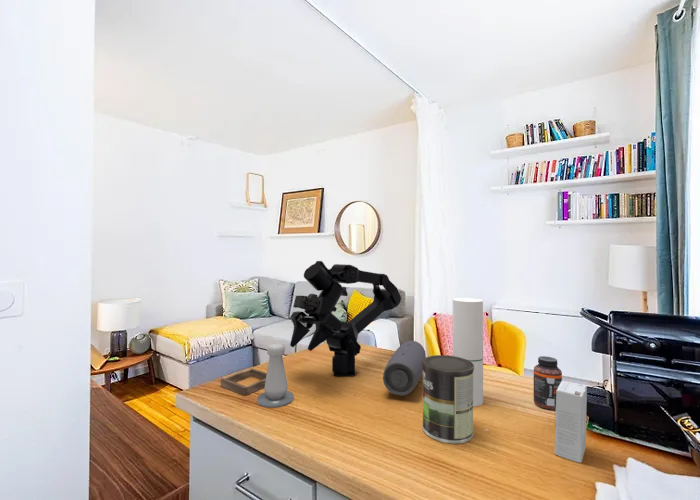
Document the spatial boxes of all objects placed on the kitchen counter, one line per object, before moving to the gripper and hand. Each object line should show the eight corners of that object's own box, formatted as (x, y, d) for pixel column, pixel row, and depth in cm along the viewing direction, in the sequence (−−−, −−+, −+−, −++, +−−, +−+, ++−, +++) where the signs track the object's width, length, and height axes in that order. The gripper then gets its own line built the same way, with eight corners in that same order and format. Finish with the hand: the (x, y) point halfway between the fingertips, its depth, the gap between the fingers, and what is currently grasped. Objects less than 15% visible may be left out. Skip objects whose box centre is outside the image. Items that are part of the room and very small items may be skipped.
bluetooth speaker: (418, 403, 83) (418, 362, 83) (380, 398, 86) (380, 358, 86) (427, 372, 105) (427, 339, 105) (397, 369, 108) (397, 337, 108)
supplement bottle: (559, 413, 78) (558, 364, 78) (530, 405, 82) (530, 358, 82) (564, 405, 82) (564, 358, 82) (537, 397, 86) (537, 353, 86)
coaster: (295, 391, 90) (295, 389, 90) (291, 407, 81) (291, 404, 81) (261, 392, 90) (261, 390, 90) (253, 408, 81) (253, 405, 81)
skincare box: (559, 441, 67) (559, 379, 67) (587, 449, 64) (587, 384, 64) (553, 455, 62) (553, 388, 62) (583, 465, 59) (583, 395, 59)
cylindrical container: (484, 397, 87) (483, 298, 87) (482, 408, 80) (481, 302, 81) (455, 392, 90) (454, 297, 90) (450, 403, 83) (450, 300, 84)
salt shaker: (285, 390, 89) (285, 340, 90) (290, 399, 84) (290, 346, 84) (262, 394, 87) (262, 343, 87) (266, 403, 82) (266, 349, 82)
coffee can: (427, 444, 66) (427, 370, 66) (418, 418, 76) (418, 354, 76) (481, 445, 65) (481, 371, 65) (465, 418, 76) (465, 355, 76)
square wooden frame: (252, 375, 102) (252, 368, 102) (276, 382, 96) (276, 375, 96) (220, 386, 94) (220, 379, 94) (244, 395, 88) (244, 388, 88)
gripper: (291, 284, 103) (262, 329, 96) (327, 282, 89) (296, 334, 81) (316, 305, 108) (290, 350, 100) (354, 306, 93) (327, 358, 86)
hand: (299, 348), depth 92 cm, fingers open, 9 cm apart
